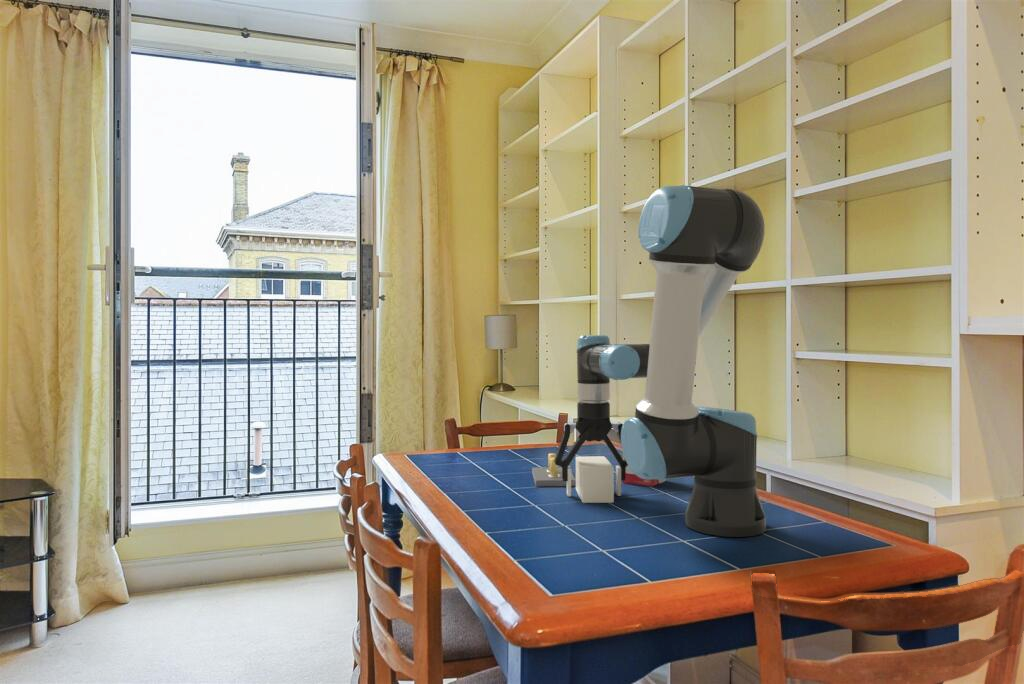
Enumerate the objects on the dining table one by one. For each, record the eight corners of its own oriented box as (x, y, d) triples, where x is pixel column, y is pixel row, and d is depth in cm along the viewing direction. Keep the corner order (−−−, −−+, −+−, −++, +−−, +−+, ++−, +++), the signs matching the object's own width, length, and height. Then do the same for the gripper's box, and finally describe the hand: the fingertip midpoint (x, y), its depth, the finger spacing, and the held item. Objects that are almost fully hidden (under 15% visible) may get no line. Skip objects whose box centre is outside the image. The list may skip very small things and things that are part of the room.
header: (576, 486, 169) (575, 461, 169) (535, 486, 169) (535, 462, 168) (568, 472, 185) (568, 450, 185) (532, 473, 185) (532, 451, 184)
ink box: (652, 487, 167) (652, 439, 167) (621, 482, 172) (621, 436, 172) (667, 481, 174) (667, 434, 174) (636, 476, 179) (636, 432, 179)
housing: (613, 502, 153) (613, 466, 152) (582, 502, 152) (582, 467, 152) (604, 489, 166) (604, 456, 165) (575, 489, 165) (575, 456, 165)
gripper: (639, 399, 163) (639, 490, 163) (542, 399, 162) (542, 491, 162) (646, 402, 155) (647, 498, 156) (544, 403, 154) (545, 499, 155)
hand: (593, 494), depth 159 cm, fingers open, 11 cm apart
